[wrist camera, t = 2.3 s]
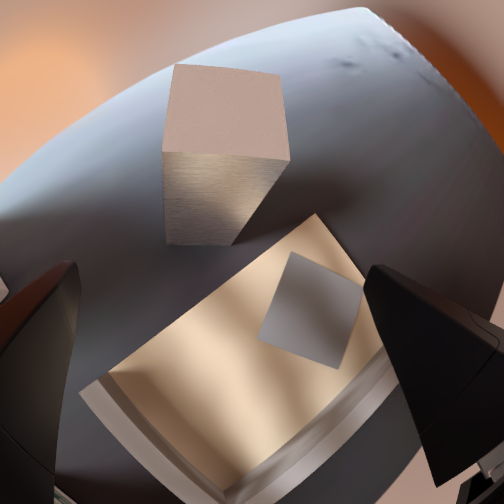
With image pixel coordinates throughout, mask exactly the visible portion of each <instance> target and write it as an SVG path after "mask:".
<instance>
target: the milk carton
mask: <svg viewBox="0 0 504 504" xmlns="http://www.w3.org/2000/svg"><path fill="white" fill-rule="evenodd" d="M8 292H9V291H8V289H7V287H6V286H5V284H4V282H3V280H2V279H1V277H0V302H1V301H2V300H3V299H4V298H5V297H6V295H7V294H8Z"/></svg>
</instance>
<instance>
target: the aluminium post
mask: <svg viewBox="0 0 504 504" xmlns="http://www.w3.org/2000/svg"><path fill="white" fill-rule="evenodd" d="M289 162H290V153H289V144H288V136H287V127H286V119H285V111H284V104H283V96H282V89H281V82H280V75H274V74H268V73H262V72H255V71H248V70H241V69H233V68H224V67H213V66H201V65H186V64H175V65H174V71H173V76H172V82H171V88H170V95H169V101H168V108H167V115H166V122H165V130H164V138H163V146H162V173H163V197H164V215H165V230H166V243H167V245H209V246H231V244H232V243H233V242H234V240H235V239H236V237H237V236H238V234H239V233H240V231H241V230H242V229H243V227H244V226H245V224H246V223H247V221H248V220H249V219H250V217H251V216H252V214H253V213H254V211H255V210H256V209H257V207H258V206H259V204H260V203H261V201H262V200H263V199H264V197H265V196H266V194H267V193H268V192H269V190H270V189H271V187H272V186H273V185H274V183H275V182H276V180H277V179H278V177H279V176H280V175H281V173H282V172H283V170H284V169H285V168H286V166H287V165H288V163H289Z"/></svg>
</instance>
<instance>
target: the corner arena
mask: <svg viewBox="0 0 504 504" xmlns="http://www.w3.org/2000/svg"><path fill="white" fill-rule="evenodd" d="M364 282H365V279H364V277H363V276H362V275H361V273H360V272H359V271H358V269H357V268H356V266H355V265H354V264H353V262H352V261H351V260H350V258H349V257H348V256H347V254H346V253H345V251H344V250H343V249H342V247H341V246H340V245H339V243H338V242H337V241H336V239H335V238H334V237H333V236H332V234H331V233H330V232H329V230H328V229H327V228H326V226H325V225H324V224H323V223H322V221H321V220H320V219H319V217H318V216H317V215H316V214H313V215H312V216H311V217H310V218H308V219H307V220H306V221H304V222H303V223H302V224H301V225H299V226H298V227H297V228H295V229H294V230H293V231H292V232H290V233H289V234H288V235H286V236H285V237H284V238H283V239H281V240H280V241H279V242H277V243H276V244H275V245H274V246H272V247H271V248H270V249H268V250H267V251H266V252H264V253H263V254H262V255H261V256H259V257H258V258H257V259H255V260H254V261H253V262H252V263H250V264H249V265H248V266H246V267H245V268H244V269H242V270H241V271H240V272H239V273H237V274H236V275H235V276H233V277H232V278H231V279H229V280H228V281H227V282H226V283H224V284H223V285H222V286H220V287H219V288H218V289H216V290H215V291H214V292H213V293H211V294H210V295H209V296H207V297H206V298H205V299H203V300H202V301H201V302H200V303H198V304H197V305H196V306H194V307H193V308H192V309H190V310H189V311H188V312H186V313H185V314H184V315H183V316H181V317H180V318H179V319H177V320H176V321H175V322H173V323H172V324H171V325H169V326H168V327H167V328H165V329H164V330H163V331H162V332H160V333H159V334H158V335H156V336H155V337H154V338H152V339H151V340H150V341H148V342H147V343H146V344H144V345H143V346H142V347H140V348H139V349H138V350H137V351H135V352H134V353H133V354H131V355H130V356H129V357H127V358H126V359H125V360H123V361H122V362H121V363H119V364H118V365H117V366H115V367H114V368H113V369H111V370H110V371H109V372H107V373H106V374H104V375H103V376H101V377H100V378H98V379H97V380H95V381H94V382H93V383H91V384H90V385H89V386H87V387H86V388H85V389H83V390H82V391H81V392H79V394H80V395H81V397H82V398H83V399H84V401H85V402H86V403H87V404H88V406H89V407H90V408H91V409H92V411H93V412H94V413H95V414H96V416H97V417H98V418H99V419H100V420H101V421H102V423H103V424H104V425H105V426H106V427H107V428H108V430H109V431H110V432H111V433H112V434H113V435H114V436H115V437H116V438H117V440H118V441H119V442H120V443H121V444H122V445H123V446H124V447H125V448H126V449H127V450H128V451H129V452H130V453H131V454H132V455H133V456H134V457H135V458H136V459H137V460H138V461H139V462H140V463H141V464H142V465H143V466H144V467H145V468H146V469H147V470H148V471H149V472H150V473H151V474H152V475H153V476H154V477H155V478H157V479H158V480H159V481H160V482H161V483H162V484H163V485H164V486H166V487H167V488H168V489H169V490H170V491H171V492H172V493H174V494H175V495H176V496H177V497H178V498H180V499H181V500H182V501H183V502H185V503H186V504H274V503H275V502H277V501H278V500H279V499H281V498H282V497H283V496H285V495H286V494H287V493H288V492H290V491H291V490H292V489H293V488H295V487H296V486H297V485H298V484H300V483H301V482H302V481H303V480H304V479H306V478H307V477H308V476H309V475H310V474H311V473H313V472H314V471H315V470H316V469H317V468H318V467H319V466H320V465H322V464H323V463H324V462H325V461H326V460H327V459H328V458H329V457H330V456H331V455H332V454H334V453H335V452H336V451H337V450H338V449H339V448H340V447H341V446H342V445H343V444H344V443H345V442H346V441H347V440H348V439H349V438H350V437H351V436H352V435H353V434H354V433H355V432H356V431H357V430H358V429H359V428H360V427H361V425H362V424H363V423H364V422H365V421H366V420H367V419H368V418H369V417H370V416H371V415H372V414H373V412H374V411H375V410H376V409H377V408H378V407H379V406H380V404H381V403H382V402H383V401H384V400H385V399H386V397H387V396H388V395H389V394H390V393H391V391H392V390H393V389H394V388H395V387H396V385H397V384H398V383H399V381H398V379H397V376H396V374H395V371H394V369H393V367H392V364H391V362H390V360H389V357H388V355H387V352H386V350H385V348H384V346H383V343H382V341H381V339H380V336H379V334H378V332H377V329H376V327H375V324H374V321H373V318H372V315H371V312H370V309H369V306H368V303H367V301H366V298H365V295H364V292H363V285H364Z"/></svg>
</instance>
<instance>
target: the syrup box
mask: <svg viewBox="0 0 504 504" xmlns="http://www.w3.org/2000/svg"><path fill="white" fill-rule="evenodd" d="M54 504H77V503H75V502H74V501H73V500H72V499H70V498H69V497H68V496H67V495H65V494H64V493H63V492H62V491H61V490H59V489H58V488H57V487H56V486H55V485H54Z"/></svg>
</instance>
